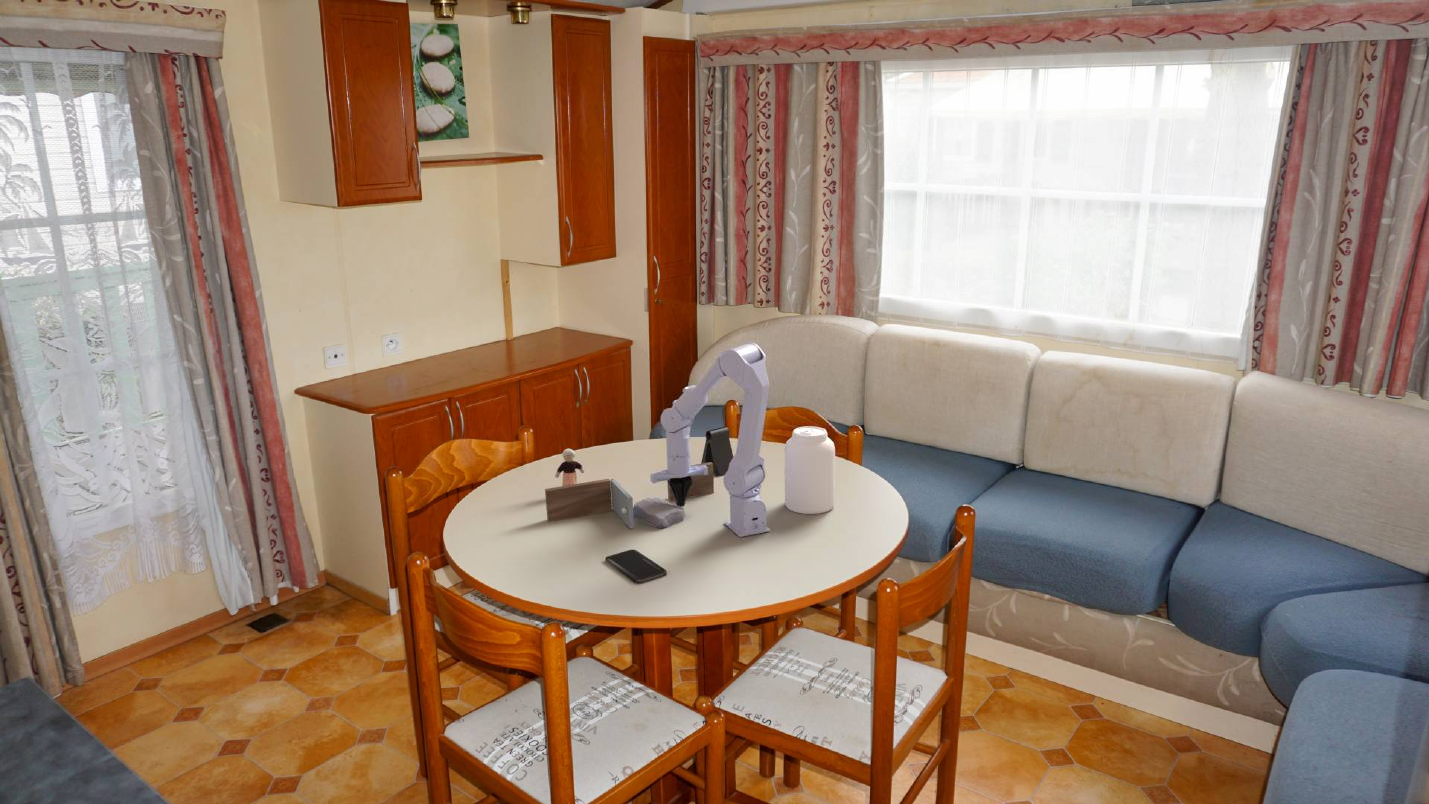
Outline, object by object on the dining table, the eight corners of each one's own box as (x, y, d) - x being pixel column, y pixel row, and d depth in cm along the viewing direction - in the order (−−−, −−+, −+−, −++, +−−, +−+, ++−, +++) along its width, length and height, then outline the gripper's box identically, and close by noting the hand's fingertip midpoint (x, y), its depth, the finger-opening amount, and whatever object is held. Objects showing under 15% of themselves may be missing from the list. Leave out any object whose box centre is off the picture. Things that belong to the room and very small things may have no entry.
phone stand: (736, 471, 273) (735, 430, 270) (719, 476, 270) (718, 434, 266) (717, 463, 280) (716, 423, 277) (700, 468, 277) (699, 427, 274)
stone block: (659, 513, 250) (628, 516, 243) (662, 495, 249) (631, 498, 243) (690, 528, 242) (658, 532, 235) (692, 509, 241) (661, 512, 234)
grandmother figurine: (561, 499, 256) (558, 453, 252) (555, 495, 259) (551, 449, 256) (588, 493, 260) (585, 447, 256) (581, 489, 263) (578, 443, 260)
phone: (637, 581, 207) (603, 557, 219) (637, 586, 207) (603, 562, 219) (668, 571, 211) (634, 548, 223) (669, 576, 212) (634, 552, 224)
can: (809, 519, 239) (809, 441, 234) (774, 505, 248) (773, 429, 243) (845, 506, 247) (846, 430, 241) (809, 493, 256) (809, 419, 251)
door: (606, 508, 248) (605, 480, 246) (615, 506, 249) (613, 478, 247) (624, 529, 235) (623, 499, 233) (633, 527, 236) (632, 497, 234)
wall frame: (713, 492, 258) (713, 463, 256) (548, 521, 242) (546, 490, 240) (711, 490, 259) (710, 462, 257) (547, 519, 243) (544, 489, 241)
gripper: (699, 444, 248) (701, 495, 252) (645, 453, 243) (647, 504, 246) (710, 452, 242) (711, 504, 246) (654, 461, 237) (657, 514, 240)
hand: (680, 505), depth 246 cm, fingers closed
